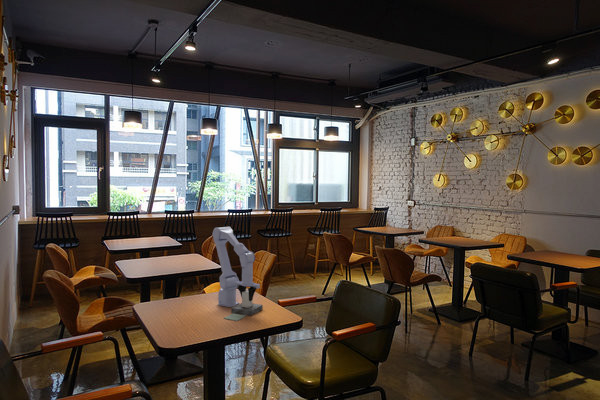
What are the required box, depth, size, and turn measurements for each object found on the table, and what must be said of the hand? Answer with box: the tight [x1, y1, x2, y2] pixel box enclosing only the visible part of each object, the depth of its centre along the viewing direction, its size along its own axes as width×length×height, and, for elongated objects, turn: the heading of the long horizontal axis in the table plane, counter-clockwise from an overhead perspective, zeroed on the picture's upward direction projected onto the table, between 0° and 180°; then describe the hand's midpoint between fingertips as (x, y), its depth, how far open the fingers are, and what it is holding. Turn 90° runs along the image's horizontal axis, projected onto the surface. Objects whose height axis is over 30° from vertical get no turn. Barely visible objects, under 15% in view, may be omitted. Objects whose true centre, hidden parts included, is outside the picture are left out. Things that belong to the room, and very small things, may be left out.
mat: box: [223, 313, 247, 322], centre depth 204 cm, size 8×8×1 cm
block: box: [241, 289, 253, 308], centre depth 214 cm, size 4×4×8 cm
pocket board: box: [230, 302, 264, 317], centre depth 215 cm, size 12×12×2 cm
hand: (247, 300), depth 214 cm, fingers closed on block, 4 cm apart
